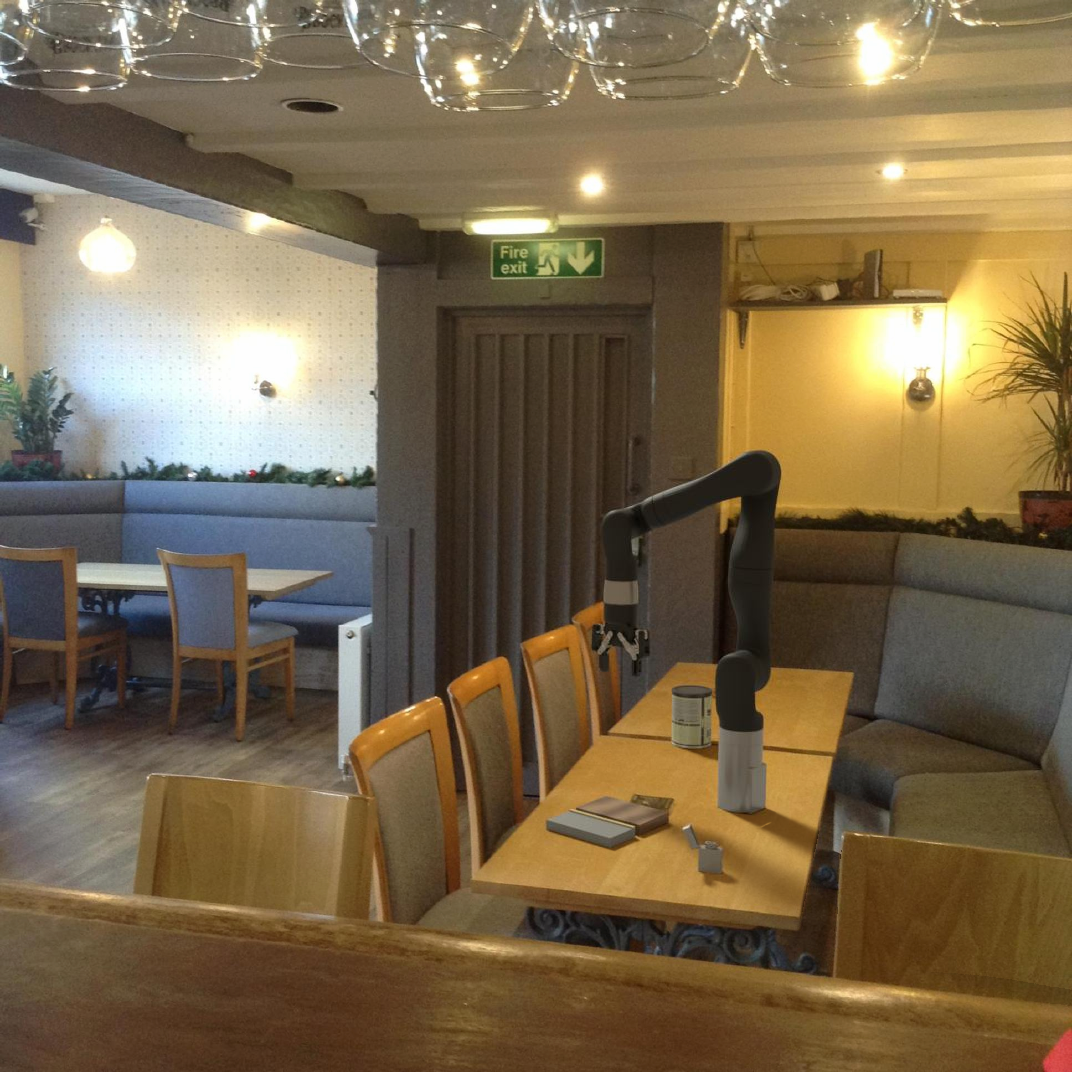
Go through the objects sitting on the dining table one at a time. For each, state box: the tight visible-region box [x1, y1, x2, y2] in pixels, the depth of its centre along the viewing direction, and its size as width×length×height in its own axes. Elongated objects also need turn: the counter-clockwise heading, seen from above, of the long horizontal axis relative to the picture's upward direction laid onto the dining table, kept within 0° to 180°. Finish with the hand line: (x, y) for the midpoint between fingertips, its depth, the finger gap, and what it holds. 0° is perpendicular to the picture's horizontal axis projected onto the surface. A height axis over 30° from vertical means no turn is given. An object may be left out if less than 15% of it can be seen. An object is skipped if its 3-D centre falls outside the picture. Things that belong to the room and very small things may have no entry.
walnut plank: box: [575, 795, 670, 836], centre depth 240 cm, size 16×10×2 cm, turn 49°
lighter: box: [682, 823, 724, 875], centre depth 213 cm, size 7×2×8 cm, turn 71°
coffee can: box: [670, 684, 714, 750], centre depth 300 cm, size 10×10×14 cm
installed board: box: [545, 808, 636, 849], centre depth 232 cm, size 16×8×2 cm, turn 49°
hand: (619, 673), depth 259 cm, fingers open, 8 cm apart
